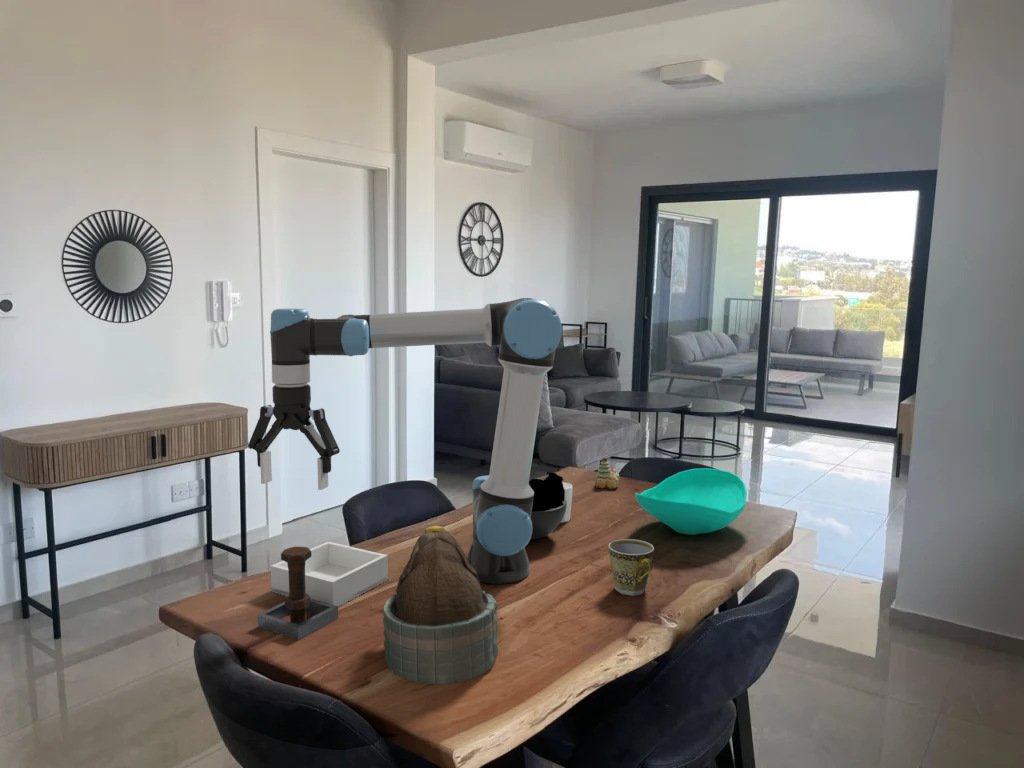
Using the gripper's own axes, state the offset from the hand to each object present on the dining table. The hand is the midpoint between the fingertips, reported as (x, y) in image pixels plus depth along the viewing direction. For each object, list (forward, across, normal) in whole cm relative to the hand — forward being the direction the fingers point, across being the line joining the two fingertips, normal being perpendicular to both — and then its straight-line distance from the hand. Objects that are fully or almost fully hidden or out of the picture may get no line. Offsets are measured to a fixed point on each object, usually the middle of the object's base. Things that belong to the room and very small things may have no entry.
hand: (294, 485), depth 159 cm
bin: (+26, -2, -10) cm, 27 cm away
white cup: (+26, -39, -72) cm, 86 cm away
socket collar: (+26, -6, +8) cm, 28 cm away
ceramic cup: (+26, -67, -27) cm, 77 cm away
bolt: (+26, -6, +8) cm, 28 cm away
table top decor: (+25, -76, -74) cm, 109 cm away
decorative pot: (+26, -37, +10) cm, 46 cm away
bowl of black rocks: (+26, -35, -55) cm, 70 cm away
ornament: (+26, -46, -111) cm, 123 cm away
